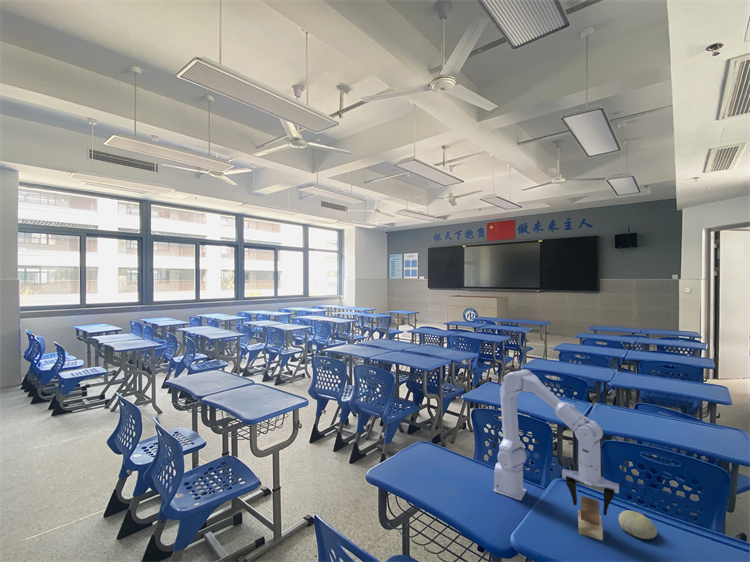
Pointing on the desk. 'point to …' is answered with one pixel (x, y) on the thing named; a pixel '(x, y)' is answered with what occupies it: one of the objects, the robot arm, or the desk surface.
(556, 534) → the desk surface
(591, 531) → the beech base
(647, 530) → the sea urchin shell
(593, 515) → the walnut block
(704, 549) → the desk surface
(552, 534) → the desk surface
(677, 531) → the desk surface
